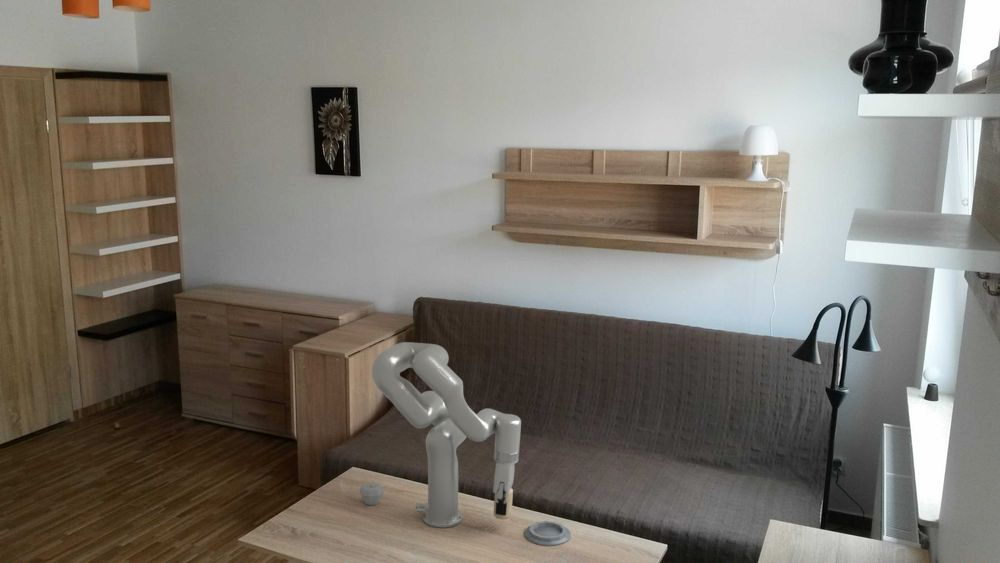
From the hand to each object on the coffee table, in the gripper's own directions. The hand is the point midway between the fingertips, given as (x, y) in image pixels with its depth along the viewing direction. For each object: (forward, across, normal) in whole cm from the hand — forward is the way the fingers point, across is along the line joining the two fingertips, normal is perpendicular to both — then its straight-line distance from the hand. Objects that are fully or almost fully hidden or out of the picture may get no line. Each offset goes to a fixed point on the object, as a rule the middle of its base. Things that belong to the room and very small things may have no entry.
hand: (502, 509), depth 256 cm
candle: (+2, 0, 0) cm, 2 cm away
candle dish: (+6, 0, +14) cm, 16 cm away
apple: (+9, -9, -45) cm, 47 cm away
